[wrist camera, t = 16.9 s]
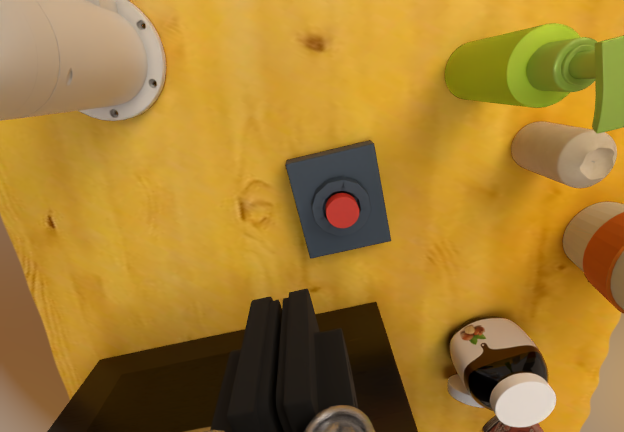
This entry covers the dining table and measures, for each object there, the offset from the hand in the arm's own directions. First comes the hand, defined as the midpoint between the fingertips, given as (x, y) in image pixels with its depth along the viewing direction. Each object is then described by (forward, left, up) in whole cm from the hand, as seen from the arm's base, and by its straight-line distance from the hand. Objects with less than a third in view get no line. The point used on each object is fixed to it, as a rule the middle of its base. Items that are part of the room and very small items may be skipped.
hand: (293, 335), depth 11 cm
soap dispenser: (-6, +19, -34) cm, 39 cm away
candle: (+2, +27, -34) cm, 43 cm away
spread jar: (+31, +23, -34) cm, 51 cm away
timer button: (+7, +4, -30) cm, 31 cm away
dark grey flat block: (+7, +4, -33) cm, 34 cm away
